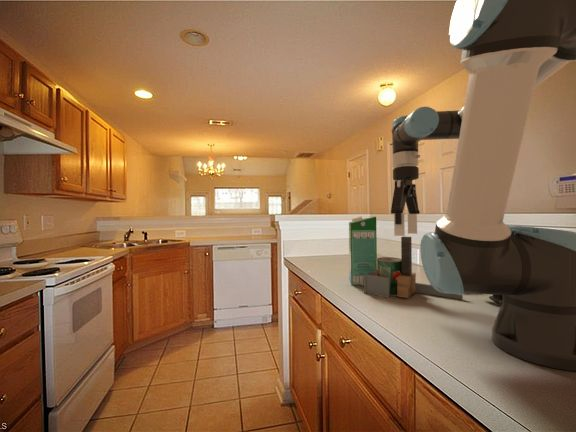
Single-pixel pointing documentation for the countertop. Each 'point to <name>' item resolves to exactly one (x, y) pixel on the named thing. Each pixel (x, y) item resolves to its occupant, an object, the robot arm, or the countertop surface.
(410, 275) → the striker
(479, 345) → the countertop surface
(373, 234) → the milk carton
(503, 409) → the countertop surface
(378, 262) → the canned tomato
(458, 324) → the countertop surface
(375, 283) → the frame
